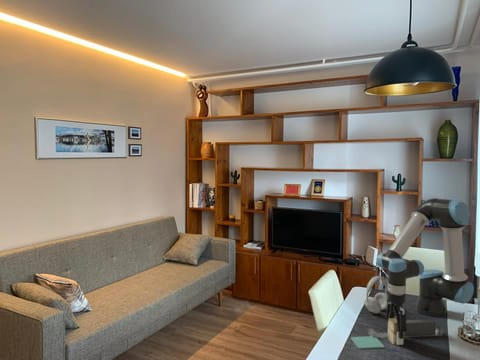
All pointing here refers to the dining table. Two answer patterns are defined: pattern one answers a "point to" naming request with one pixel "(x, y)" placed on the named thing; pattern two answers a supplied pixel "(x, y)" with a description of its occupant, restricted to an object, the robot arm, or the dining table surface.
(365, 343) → the pad
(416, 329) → the grey l-shaped block
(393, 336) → the beech block
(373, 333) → the rail
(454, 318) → the dining table surface
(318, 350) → the dining table surface
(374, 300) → the headphones
